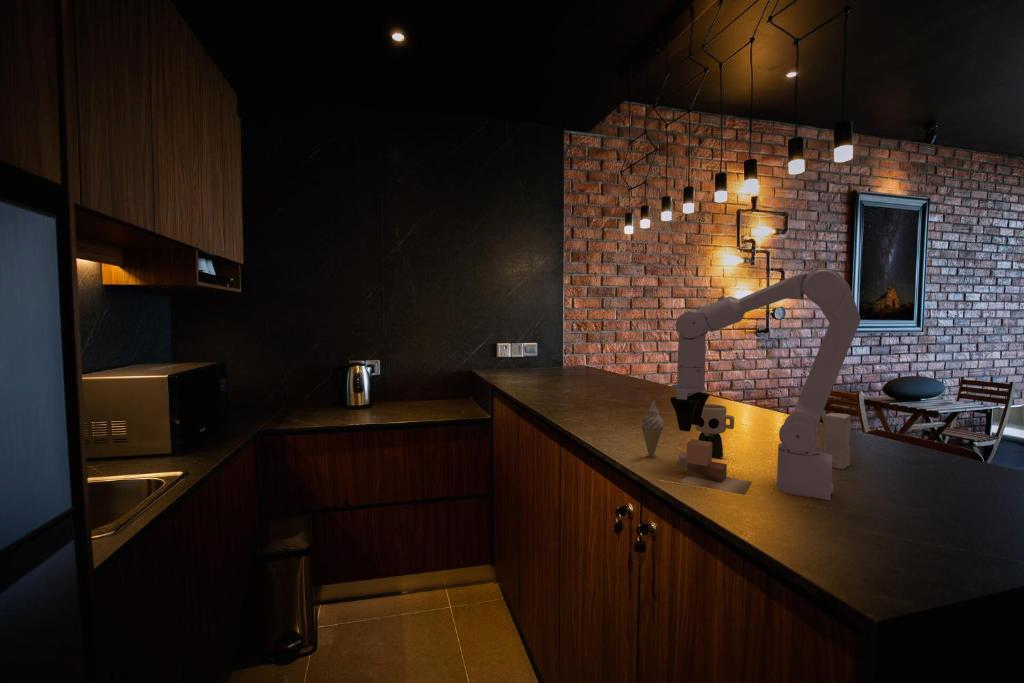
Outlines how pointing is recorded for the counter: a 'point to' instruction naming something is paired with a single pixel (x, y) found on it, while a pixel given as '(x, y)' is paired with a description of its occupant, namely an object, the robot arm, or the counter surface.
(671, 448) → the counter surface
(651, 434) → the ice cream cone
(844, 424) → the skincare box
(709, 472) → the walnut bar
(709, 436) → the character mug
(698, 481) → the birch board
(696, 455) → the terracotta cube
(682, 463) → the grey block
